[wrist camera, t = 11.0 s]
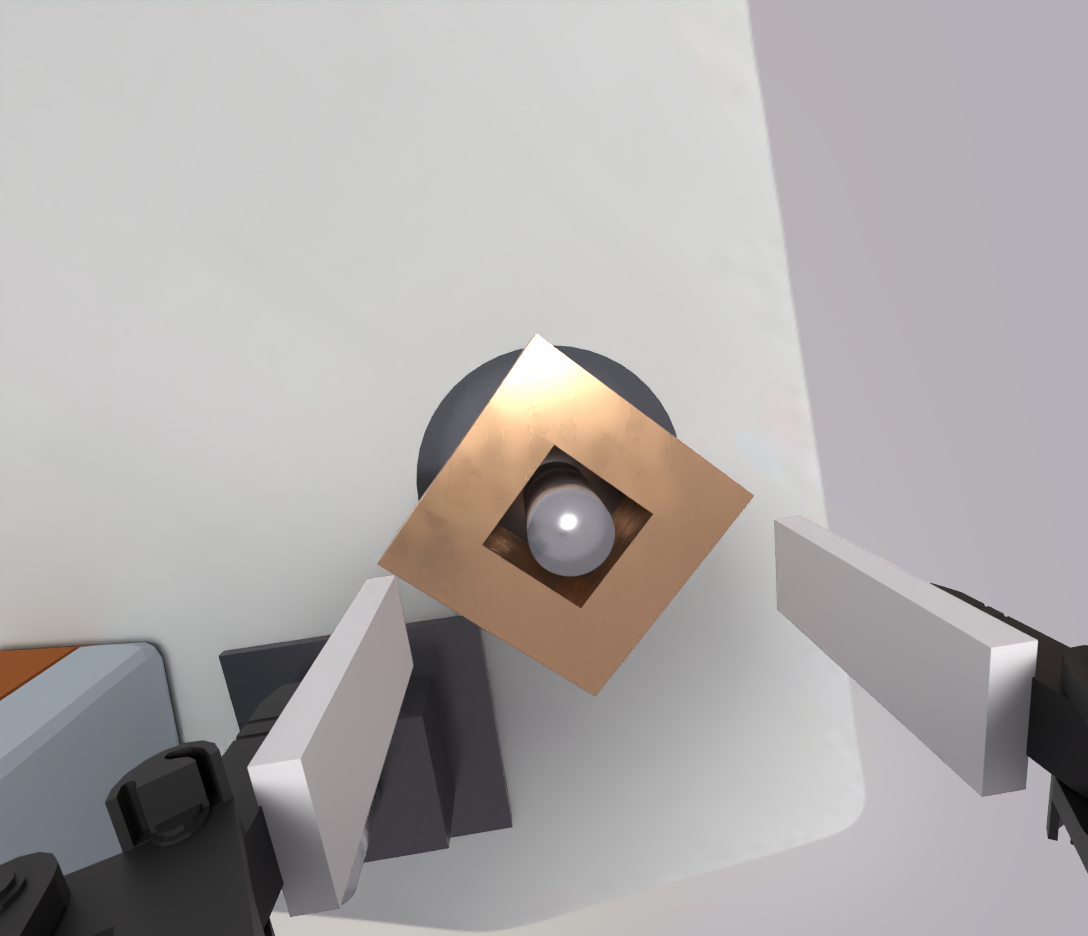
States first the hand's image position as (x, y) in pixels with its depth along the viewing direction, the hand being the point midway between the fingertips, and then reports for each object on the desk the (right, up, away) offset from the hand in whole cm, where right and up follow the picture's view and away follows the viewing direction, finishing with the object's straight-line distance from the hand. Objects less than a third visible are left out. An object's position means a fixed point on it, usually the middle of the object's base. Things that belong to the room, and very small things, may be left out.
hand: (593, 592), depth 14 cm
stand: (-11, -12, +16) cm, 23 cm away
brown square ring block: (-1, +2, +11) cm, 11 cm away
